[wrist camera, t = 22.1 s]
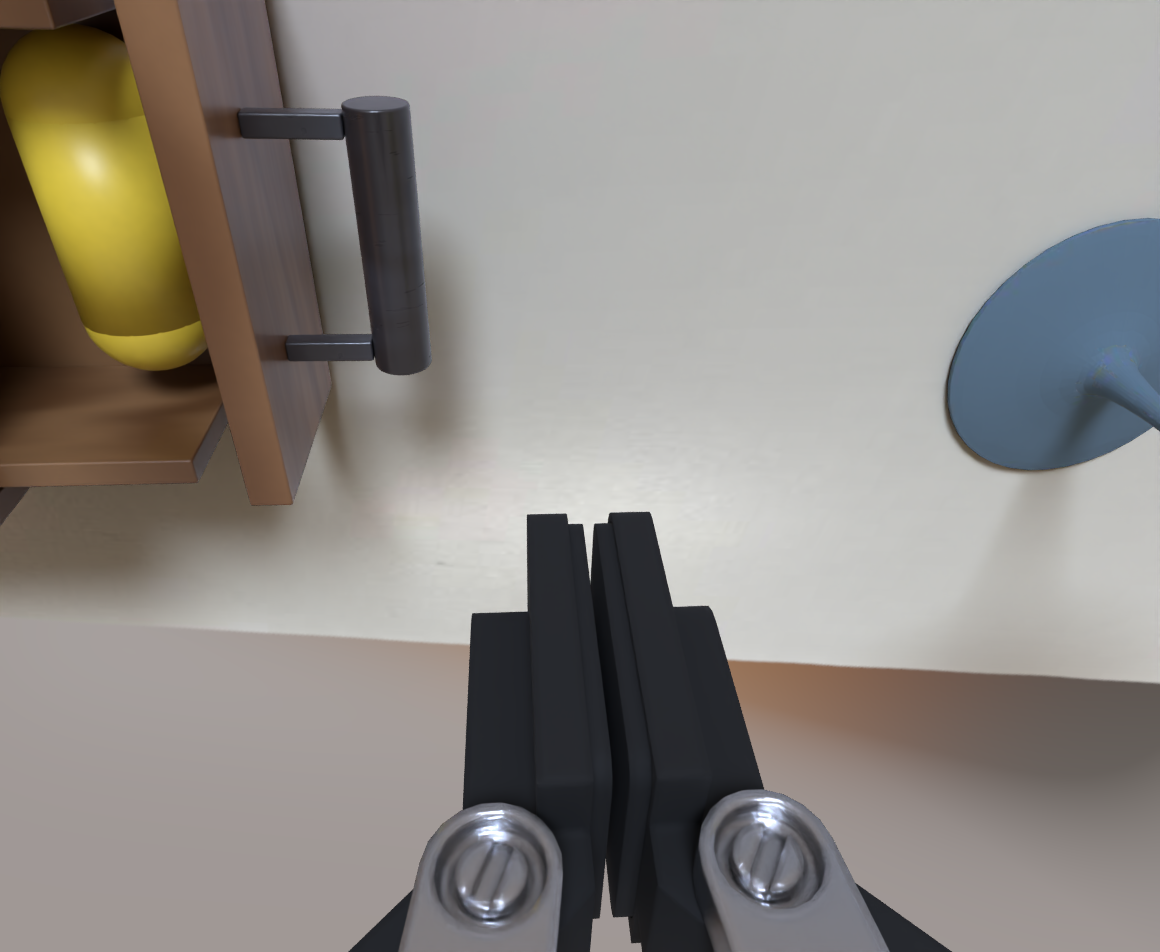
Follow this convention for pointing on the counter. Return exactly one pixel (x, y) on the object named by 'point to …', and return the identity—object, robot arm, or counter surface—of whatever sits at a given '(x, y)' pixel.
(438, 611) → the counter surface
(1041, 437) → the cocktail glass
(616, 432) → the counter surface
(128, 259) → the yellow pill capsule
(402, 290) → the drawer
